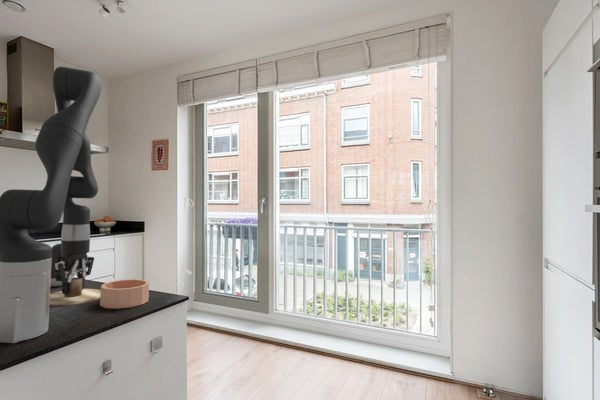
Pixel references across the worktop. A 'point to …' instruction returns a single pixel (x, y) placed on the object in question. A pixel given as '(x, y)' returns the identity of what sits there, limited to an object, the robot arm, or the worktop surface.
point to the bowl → (124, 293)
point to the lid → (74, 295)
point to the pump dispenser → (56, 259)
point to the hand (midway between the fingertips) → (73, 291)
